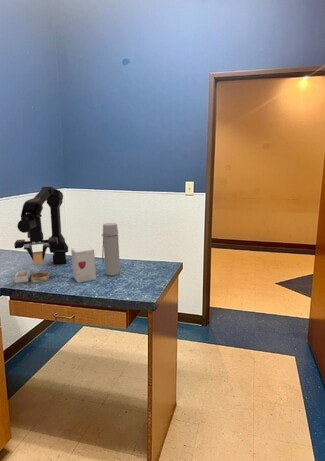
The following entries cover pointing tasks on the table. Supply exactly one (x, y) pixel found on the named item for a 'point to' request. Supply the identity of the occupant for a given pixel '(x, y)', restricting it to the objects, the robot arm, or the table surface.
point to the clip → (22, 277)
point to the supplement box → (83, 263)
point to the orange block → (38, 257)
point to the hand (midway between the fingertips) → (38, 260)
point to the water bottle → (111, 249)
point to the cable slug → (22, 273)
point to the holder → (40, 277)
